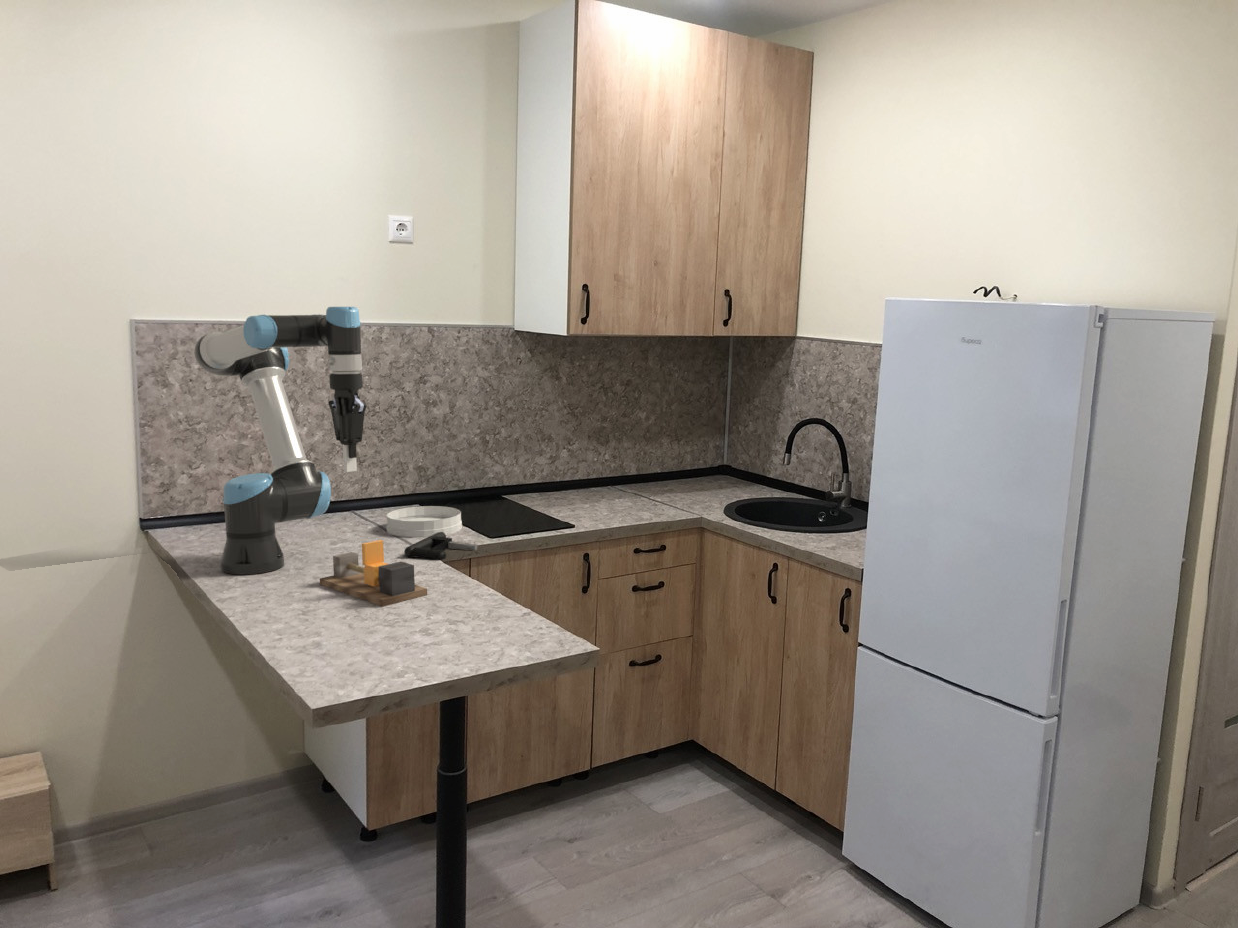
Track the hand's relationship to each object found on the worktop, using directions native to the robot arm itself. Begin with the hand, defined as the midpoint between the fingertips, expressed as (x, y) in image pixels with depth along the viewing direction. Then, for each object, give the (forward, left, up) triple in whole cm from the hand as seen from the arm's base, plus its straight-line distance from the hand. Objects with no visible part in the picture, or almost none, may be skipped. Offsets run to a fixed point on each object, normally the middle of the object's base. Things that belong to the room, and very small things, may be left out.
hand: (350, 471), depth 234 cm
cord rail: (+12, -3, -26) cm, 29 cm away
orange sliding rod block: (+14, -3, -24) cm, 28 cm away
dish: (-32, +44, -27) cm, 61 cm away
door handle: (-6, +31, -27) cm, 42 cm away
